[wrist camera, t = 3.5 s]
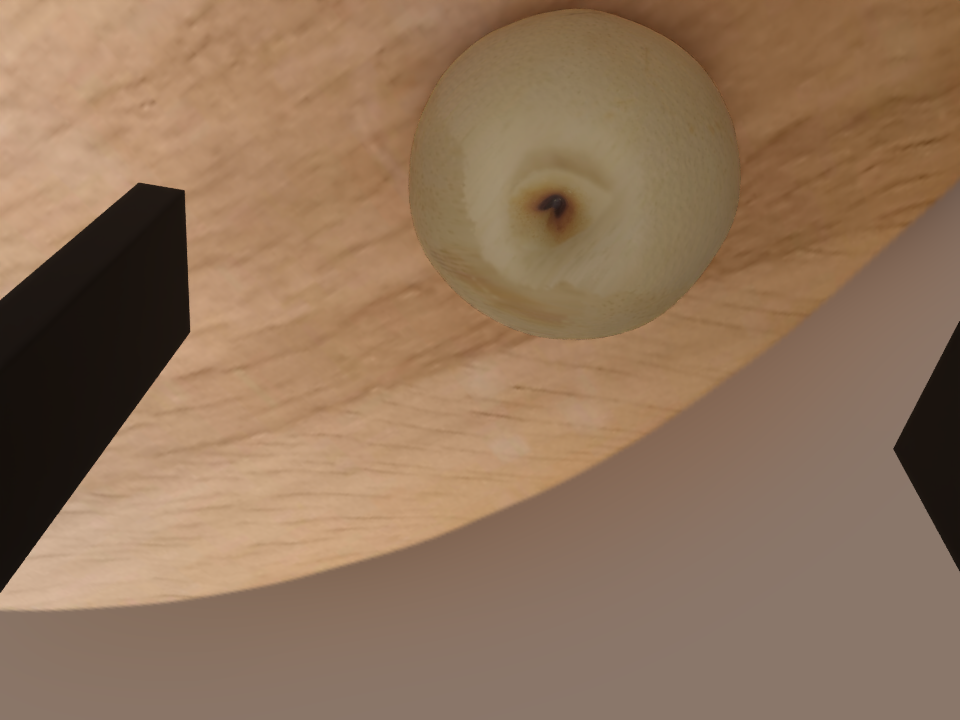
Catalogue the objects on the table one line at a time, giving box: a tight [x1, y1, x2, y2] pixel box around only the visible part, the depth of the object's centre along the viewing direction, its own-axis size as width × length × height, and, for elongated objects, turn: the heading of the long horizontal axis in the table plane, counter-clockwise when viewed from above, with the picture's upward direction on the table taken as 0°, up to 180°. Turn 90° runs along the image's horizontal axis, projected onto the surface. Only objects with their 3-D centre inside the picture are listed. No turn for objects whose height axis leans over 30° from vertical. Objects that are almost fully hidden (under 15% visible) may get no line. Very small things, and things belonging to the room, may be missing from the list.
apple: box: [409, 9, 741, 340], centre depth 21 cm, size 8×8×8 cm
